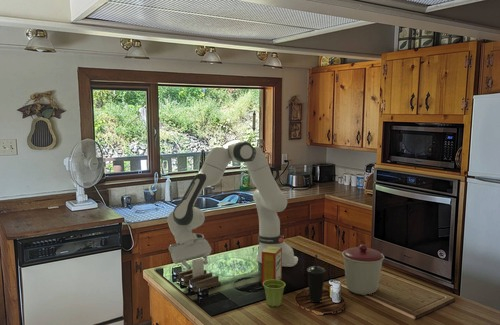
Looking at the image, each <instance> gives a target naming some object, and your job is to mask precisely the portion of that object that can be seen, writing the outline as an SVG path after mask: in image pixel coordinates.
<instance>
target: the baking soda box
mask: <svg viewBox="0 0 500 325" xmlns="http://www.w3.org/2000/svg"><path fill="white" fill-rule="evenodd" d="M282 267H283V266H282V247H274V246H268V247H267V248H266V249H264V250H263V251H262V263H261V285H263V282H264V281H266V280H281V281H282V280H283V278H282V277H283V276H282V275H283V274H282V273H283V272H282V270H283V268H282Z"/></svg>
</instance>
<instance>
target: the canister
mask: <svg viewBox="0 0 500 325" xmlns="http://www.w3.org/2000/svg"><path fill="white" fill-rule="evenodd" d="M341 255H342V257H343V264H344V277H345V284H346V287H347V289H348V290H349V291H350V292H352V293H354V294H357V295H362V296H368V295H367V294H369V295H373V294H374V292H375V293H376V292H377V290H378V289H379V284H380V278H381V274H382V266H383V261H384V260H385V256H384V254H383V253H382V252H380V251H379V250H376V249H373V248H371V247H368V246H367V245H366V244H362V243H361V244H359V246H355V247H349V248H347V249H345V250H343V251H342V254H341ZM372 293H373V294H372Z"/></svg>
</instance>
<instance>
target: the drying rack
mask: <svg viewBox="0 0 500 325" xmlns="http://www.w3.org/2000/svg"><path fill="white" fill-rule="evenodd" d="M177 276H178V277H177V279H176V280H175V282H176V281H178V282H181V280H180V279H181V278H182V277H184V282H181V283H182V284H184V285H185V286H187V287H189V285H188V283H187V282H188V281H189V280H190V284H192V283H194V282H195V283H196V288H192V289H193V290H194V291H195V292H197V291H198V289H199V288H201V287H207V288H210V289H212V288H211V287H213V288H215V287H214V286H216V287H218V285H219V286H221V283H222V281H219V275H217V274H216V275H213V272H212V271H210V272H208V273H207V269H204V275H200V276H197V277H194V278H193V272H192V268H191V269H189V270H187V269H186V270H184V271H181V272H177Z"/></svg>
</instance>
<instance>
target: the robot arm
mask: <svg viewBox="0 0 500 325" xmlns="http://www.w3.org/2000/svg"><path fill="white" fill-rule="evenodd" d="M204 159H205V160H204V162H203V164H202V166H201V168H200V170H199V171H198V173H196V175H195V176H194V177H193V178H192V180H191V182H190V183H189V186H188V187H187V189H186V191H185V193H184V195H183V196H182V198H181V199H180V201H179V202H178V204H176V205H175V207H174V208H173V211H171V212H170V213H169V214H168V216H167V218H166V219H167V224H168V227H169V229H170V232H171V234H172V236H174V241H175V242H176V243H174V244H170V245H169V246H168V251H169V253H170V257H171V260H172V262H173V263H174V264H175V265H177V264H182V266H184V267H185V268H186V271H187V270H190V269H192V265H191V264H189V263H187V261H188V262H189V261H191V260H196V259H200V258H202V259H204V266H205V265H208V264H209V261H208V256H209V255H210V254H211V253H212V251H213V250H212V247H211V245H210V243H209V241H208V240H207V239H205V236H204V234H203V233H196V232H193V230H195V229H198V228H199V227H201V226H202V225H204V223H205V220H206V214H205V212H204V210H203V209H201V208H199V207H196V206H195V204H196V202H197V201H198V199H199V196H200V194H201V193H202V191H203V190H204V189H205V188H208V187H211V186H216V185H217V184H219V183H220V181H221V180H222V178H223V176H224V174H225V171H226V169H227V166H228V164H229V163H231V162H234V163H245V165H246V169H247V171H248V174H249V176H250V179H251V182H252V184H253V186H255V188H256V189H255V190H254V192H253V194H252V199H253V201H254V203H255V206H256V211H257V216H258V225H259V226H258V227H259V228H258V229H259V230H258V231H259V232H258V237H257V239H258V240H257V243H258V251H257V254H256V255H257V256H256V259H255V261H257V263H260V264H262V251H263V250H264V249H266V248H267V247H268V246H274V247H282V267H289V268H290V267H295V266H296V265H297V264H298V263H299V257H297V256H295V254H294V253H295V252H294V249H293V247H291V246H290V245H288V244H287V243H286V242H285V241H284V237H285V235H282V234H281V231H280V230H281V229H280V228H281V220H280V217H279V216H278V213H279V212H280V213H281V212H283V211H284V210H285V209H286V208H287V205H288V199H287V197H286V195H285V194H284V193H283V192H282V190H281V188H280V186H279V185H278V183H277V182H276V179H275V178H274V176H273V173H272V171H271V170H272V169H271V168H270V165H269V163H268V160H267V157H266V155H265V153H264V151H263V149H262V148H261V147H260V146H259V145H252V144H251V143H250V142H249V141H247V140H239V139H235V140H228V141H225V142H223V144H222V145H215V146H213V147H212V148H211V149H210V151H209V152H208V154H207V156H206V158H204Z"/></svg>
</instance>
